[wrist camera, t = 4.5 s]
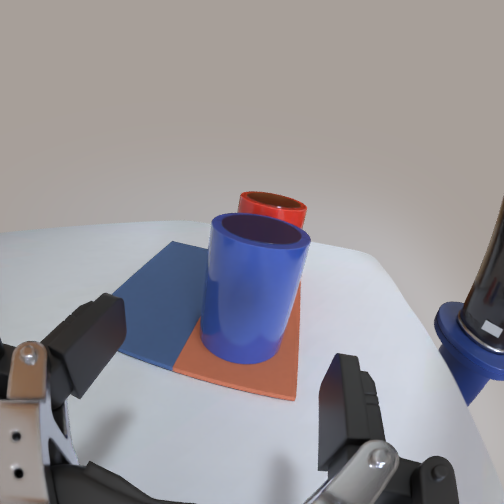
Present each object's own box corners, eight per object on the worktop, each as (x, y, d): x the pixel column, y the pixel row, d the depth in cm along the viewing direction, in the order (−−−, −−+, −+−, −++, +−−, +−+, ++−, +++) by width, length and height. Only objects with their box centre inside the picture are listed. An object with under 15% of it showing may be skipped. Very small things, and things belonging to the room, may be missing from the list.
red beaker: (288, 274, 32) (306, 200, 29) (285, 303, 26) (308, 215, 23) (234, 262, 32) (247, 187, 29) (220, 288, 27) (233, 199, 23)
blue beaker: (283, 321, 24) (309, 224, 20) (277, 373, 18) (313, 258, 15) (212, 304, 24) (225, 206, 21) (187, 350, 18) (197, 232, 15)
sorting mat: (300, 273, 34) (300, 270, 34) (294, 401, 16) (295, 397, 16) (172, 243, 35) (172, 240, 35) (76, 332, 18) (75, 328, 17)
